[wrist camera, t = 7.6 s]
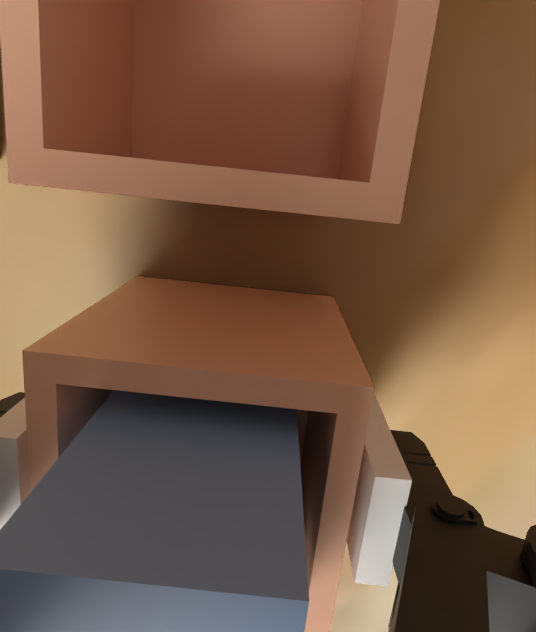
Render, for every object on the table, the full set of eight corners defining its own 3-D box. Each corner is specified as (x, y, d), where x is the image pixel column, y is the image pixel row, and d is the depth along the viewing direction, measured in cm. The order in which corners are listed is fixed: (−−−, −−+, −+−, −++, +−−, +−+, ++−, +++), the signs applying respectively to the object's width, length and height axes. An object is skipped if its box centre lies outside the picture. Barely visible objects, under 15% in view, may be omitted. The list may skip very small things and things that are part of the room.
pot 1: (137, 182, 14) (8, 182, 8) (142, -65, 12) (-22, -355, 6) (344, 204, 14) (399, 223, 8) (379, -40, 12) (495, -302, 6)
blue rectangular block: (150, 461, 14) (-6, 790, 6) (153, 340, 13) (-29, 565, 5) (278, 475, 14) (274, 820, 6) (293, 355, 13) (308, 602, 5)
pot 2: (134, 447, 17) (37, 621, 10) (137, 275, 15) (22, 350, 8) (308, 466, 17) (326, 652, 10) (333, 296, 15) (374, 387, 8)
